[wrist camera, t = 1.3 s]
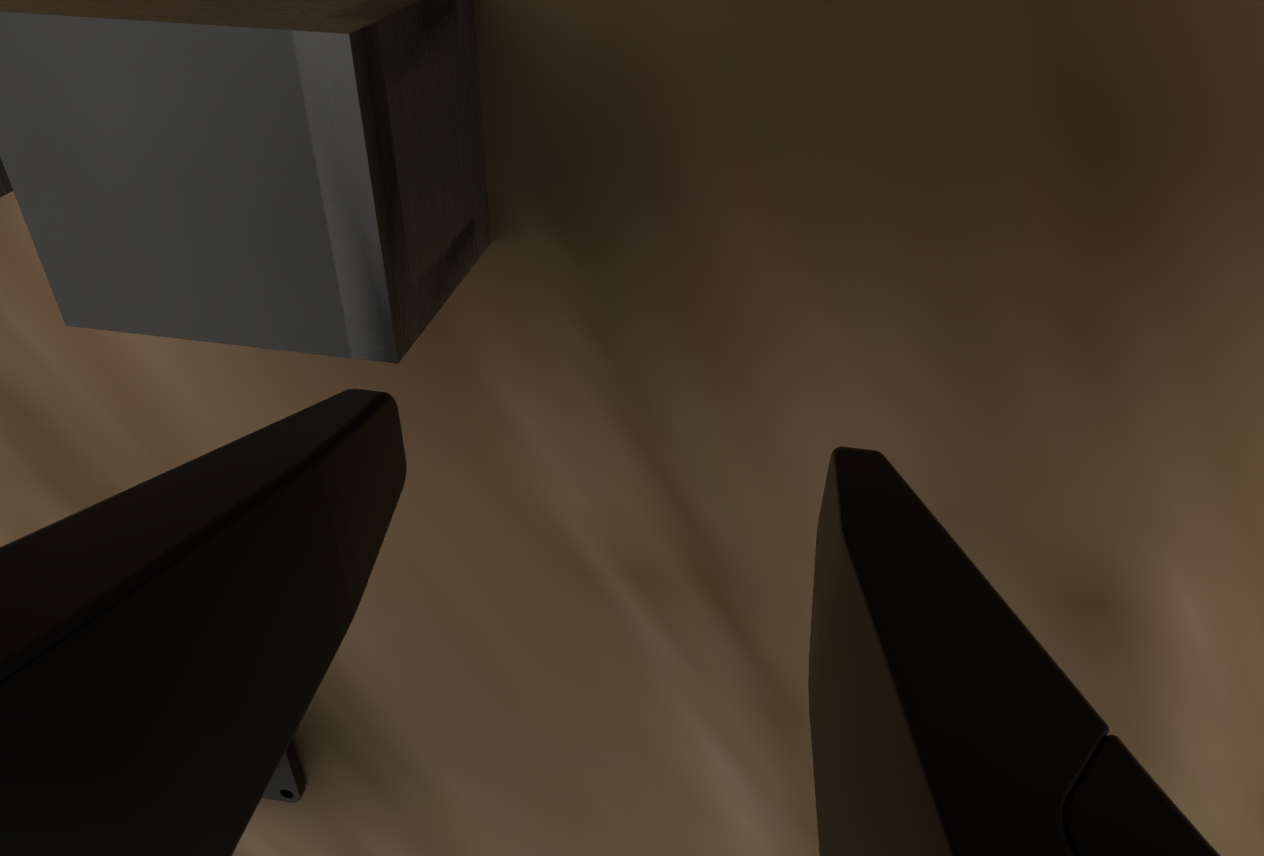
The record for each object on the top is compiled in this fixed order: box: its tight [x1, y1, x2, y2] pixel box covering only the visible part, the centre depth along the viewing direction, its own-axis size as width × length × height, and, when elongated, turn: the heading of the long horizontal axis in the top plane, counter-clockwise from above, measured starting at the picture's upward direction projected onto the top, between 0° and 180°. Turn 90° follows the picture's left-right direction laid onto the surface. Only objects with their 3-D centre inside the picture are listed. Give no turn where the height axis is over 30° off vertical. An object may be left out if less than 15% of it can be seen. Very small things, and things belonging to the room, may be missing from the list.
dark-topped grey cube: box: [0, 0, 491, 363], centre depth 15 cm, size 5×6×5 cm
